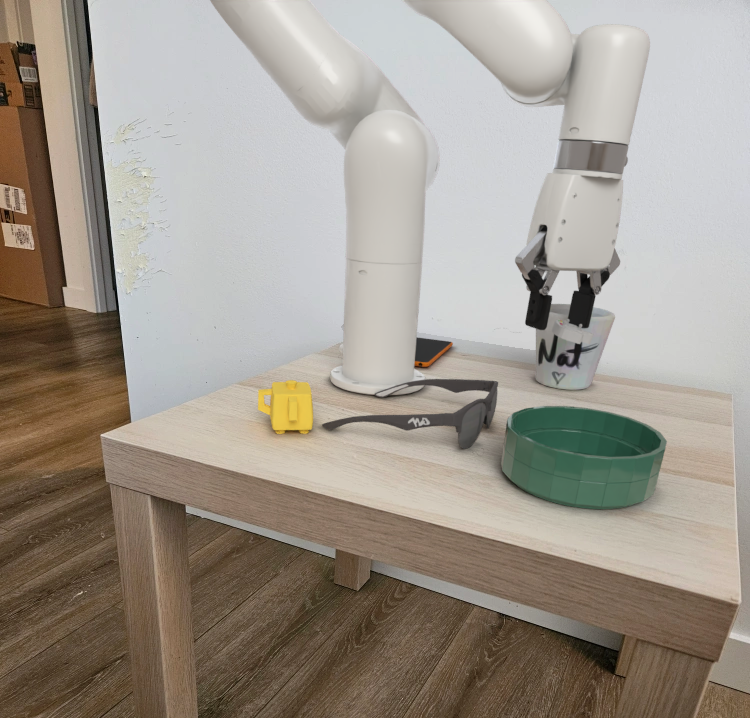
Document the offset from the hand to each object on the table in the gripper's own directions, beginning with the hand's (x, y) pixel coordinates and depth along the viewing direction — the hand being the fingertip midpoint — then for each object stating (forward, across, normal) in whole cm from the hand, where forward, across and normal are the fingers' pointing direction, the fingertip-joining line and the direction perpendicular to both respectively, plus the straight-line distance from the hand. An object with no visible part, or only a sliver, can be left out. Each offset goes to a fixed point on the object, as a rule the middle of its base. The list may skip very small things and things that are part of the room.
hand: (557, 325), depth 82 cm
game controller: (+2, +2, 0) cm, 2 cm away
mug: (+10, -11, -7) cm, 16 cm away
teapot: (+11, +34, -2) cm, 36 cm away
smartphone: (+10, +2, -26) cm, 28 cm away
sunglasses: (+10, +20, +2) cm, 23 cm away
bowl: (+10, +14, +21) cm, 27 cm away
